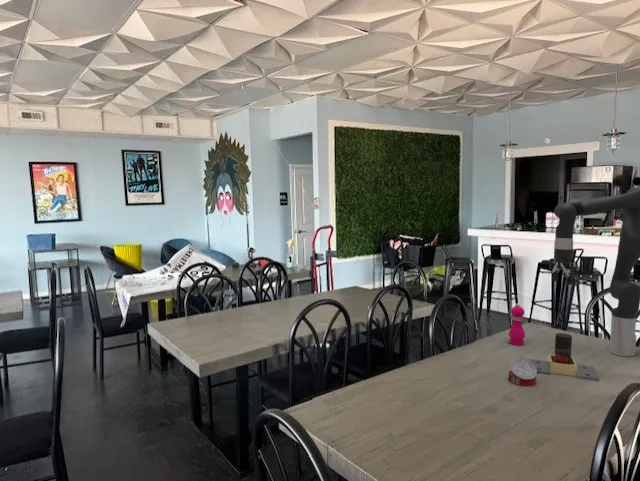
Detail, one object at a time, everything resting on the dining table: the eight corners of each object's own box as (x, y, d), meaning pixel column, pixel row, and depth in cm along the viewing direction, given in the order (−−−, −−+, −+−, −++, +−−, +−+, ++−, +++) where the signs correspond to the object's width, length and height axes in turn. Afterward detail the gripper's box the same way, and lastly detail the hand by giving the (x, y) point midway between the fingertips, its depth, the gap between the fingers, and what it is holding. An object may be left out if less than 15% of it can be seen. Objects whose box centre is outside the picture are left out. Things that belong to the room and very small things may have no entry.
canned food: (532, 390, 180) (547, 371, 177) (523, 396, 173) (538, 376, 170) (508, 371, 187) (521, 352, 184) (498, 375, 180) (512, 356, 176)
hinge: (593, 368, 190) (593, 358, 189) (599, 380, 178) (599, 369, 177) (528, 361, 199) (528, 351, 199) (529, 372, 187) (529, 361, 187)
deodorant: (550, 368, 191) (552, 333, 189) (564, 367, 192) (566, 332, 190) (559, 373, 185) (561, 337, 184) (573, 373, 186) (575, 337, 184)
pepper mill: (526, 346, 218) (527, 305, 216) (510, 345, 219) (511, 304, 217) (522, 341, 225) (524, 301, 223) (507, 340, 226) (508, 301, 224)
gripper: (582, 249, 201) (581, 285, 202) (559, 245, 214) (557, 279, 216) (568, 249, 199) (566, 286, 201) (545, 246, 213) (544, 280, 214)
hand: (562, 282), depth 208 cm, fingers open, 8 cm apart
